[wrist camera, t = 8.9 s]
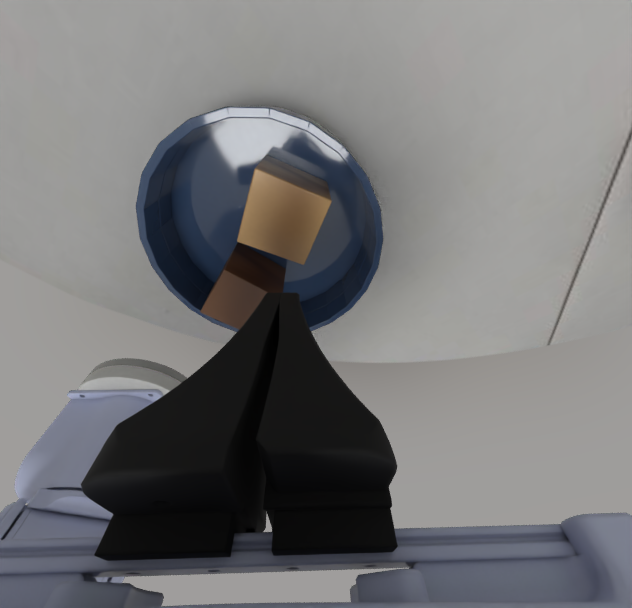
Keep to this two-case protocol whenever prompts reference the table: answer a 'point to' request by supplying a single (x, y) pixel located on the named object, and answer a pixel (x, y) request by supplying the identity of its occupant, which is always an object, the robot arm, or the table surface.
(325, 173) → the bowl
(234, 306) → the walnut block
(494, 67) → the table surface
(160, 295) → the table surface
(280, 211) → the beech block
